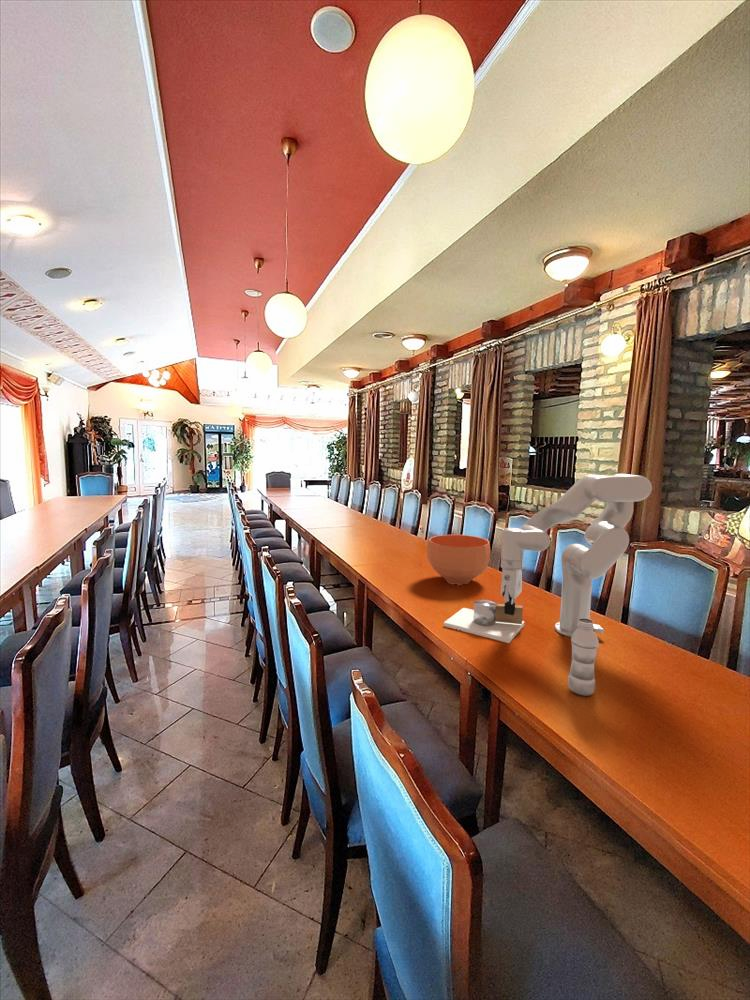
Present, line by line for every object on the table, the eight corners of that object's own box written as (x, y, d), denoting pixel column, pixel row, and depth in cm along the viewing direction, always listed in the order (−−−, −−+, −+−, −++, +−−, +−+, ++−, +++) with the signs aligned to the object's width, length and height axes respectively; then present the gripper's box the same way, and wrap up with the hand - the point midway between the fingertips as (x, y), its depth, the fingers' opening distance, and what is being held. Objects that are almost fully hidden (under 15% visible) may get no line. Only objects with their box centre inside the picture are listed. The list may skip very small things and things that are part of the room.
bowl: (423, 588, 200) (424, 545, 198) (430, 570, 229) (431, 533, 227) (489, 593, 193) (491, 549, 191) (488, 575, 222) (490, 536, 220)
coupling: (473, 625, 154) (473, 607, 154) (473, 614, 164) (474, 597, 163) (522, 630, 150) (523, 612, 150) (520, 619, 160) (521, 602, 159)
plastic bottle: (570, 682, 120) (575, 613, 118) (597, 691, 116) (602, 620, 114) (564, 692, 115) (568, 621, 113) (591, 702, 111) (596, 628, 109)
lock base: (524, 625, 159) (524, 621, 159) (509, 643, 144) (509, 638, 144) (463, 611, 173) (463, 607, 172) (443, 626, 158) (443, 621, 158)
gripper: (516, 570, 142) (514, 623, 145) (528, 560, 155) (525, 609, 157) (494, 566, 146) (492, 618, 149) (507, 557, 159) (505, 605, 161)
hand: (509, 613), depth 153 cm, fingers closed
